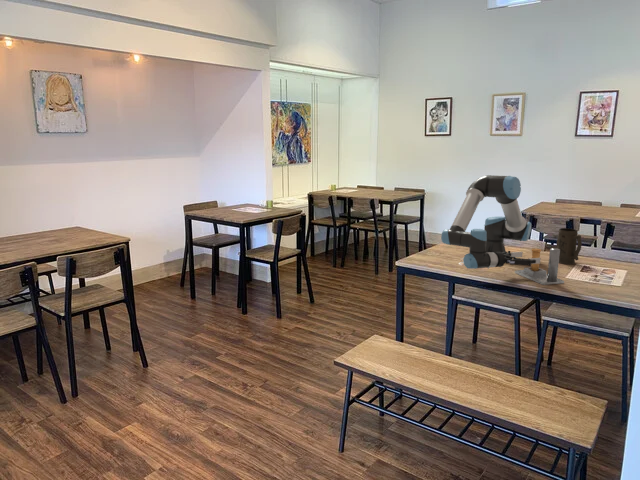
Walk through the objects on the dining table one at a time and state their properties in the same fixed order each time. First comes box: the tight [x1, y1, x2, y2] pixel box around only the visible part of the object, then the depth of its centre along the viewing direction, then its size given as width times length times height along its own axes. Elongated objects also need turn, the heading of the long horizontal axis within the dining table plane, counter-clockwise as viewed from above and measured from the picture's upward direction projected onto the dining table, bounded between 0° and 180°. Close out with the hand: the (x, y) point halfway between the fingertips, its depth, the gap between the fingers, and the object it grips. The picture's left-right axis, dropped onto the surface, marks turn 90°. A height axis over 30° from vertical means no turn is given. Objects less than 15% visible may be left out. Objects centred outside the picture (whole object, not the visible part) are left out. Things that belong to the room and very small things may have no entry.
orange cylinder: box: [530, 248, 542, 271], centre depth 240 cm, size 4×4×13 cm
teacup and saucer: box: [458, 257, 466, 267], centre depth 265 cm, size 9×8×4 cm
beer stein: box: [555, 227, 583, 265], centre depth 266 cm, size 15×10×20 cm
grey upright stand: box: [514, 247, 565, 286], centre depth 237 cm, size 23×12×17 cm, turn 13°
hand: (530, 257), depth 238 cm, fingers open, 13 cm apart
